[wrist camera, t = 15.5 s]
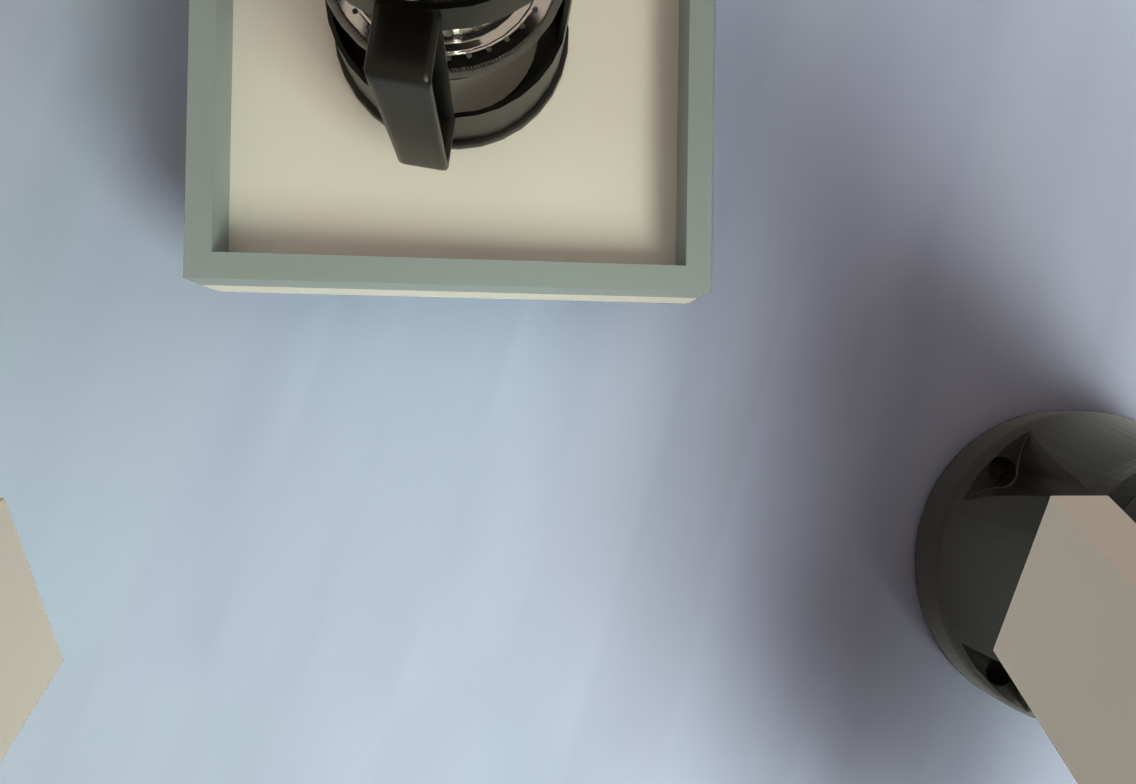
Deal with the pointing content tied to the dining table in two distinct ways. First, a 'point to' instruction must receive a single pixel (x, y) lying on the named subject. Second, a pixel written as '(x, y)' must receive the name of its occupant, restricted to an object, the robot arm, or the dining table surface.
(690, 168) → the grey tray with legs
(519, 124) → the french press
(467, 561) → the dining table surface
